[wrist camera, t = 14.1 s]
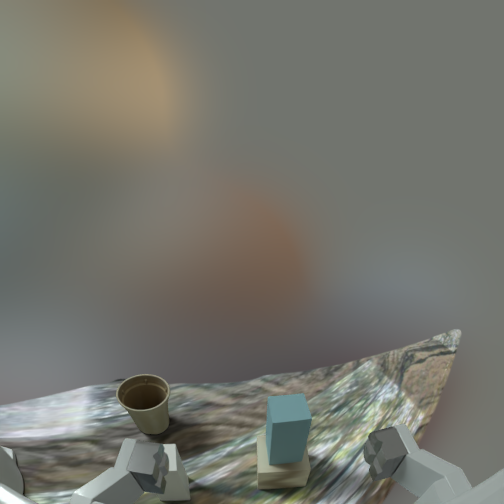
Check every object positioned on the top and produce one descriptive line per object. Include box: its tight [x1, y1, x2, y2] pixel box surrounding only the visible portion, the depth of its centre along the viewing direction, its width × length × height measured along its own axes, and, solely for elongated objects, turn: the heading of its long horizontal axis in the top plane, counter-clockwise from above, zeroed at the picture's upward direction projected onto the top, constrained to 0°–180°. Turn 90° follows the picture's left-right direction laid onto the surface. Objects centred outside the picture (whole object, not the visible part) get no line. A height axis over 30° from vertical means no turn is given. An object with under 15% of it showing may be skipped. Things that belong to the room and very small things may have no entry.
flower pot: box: [116, 374, 170, 434], centre depth 42 cm, size 9×9×9 cm
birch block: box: [257, 435, 311, 489], centre depth 34 cm, size 7×7×6 cm
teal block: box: [266, 393, 312, 465], centre depth 32 cm, size 4×4×10 cm
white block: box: [156, 444, 191, 501], centre depth 29 cm, size 4×4×10 cm
